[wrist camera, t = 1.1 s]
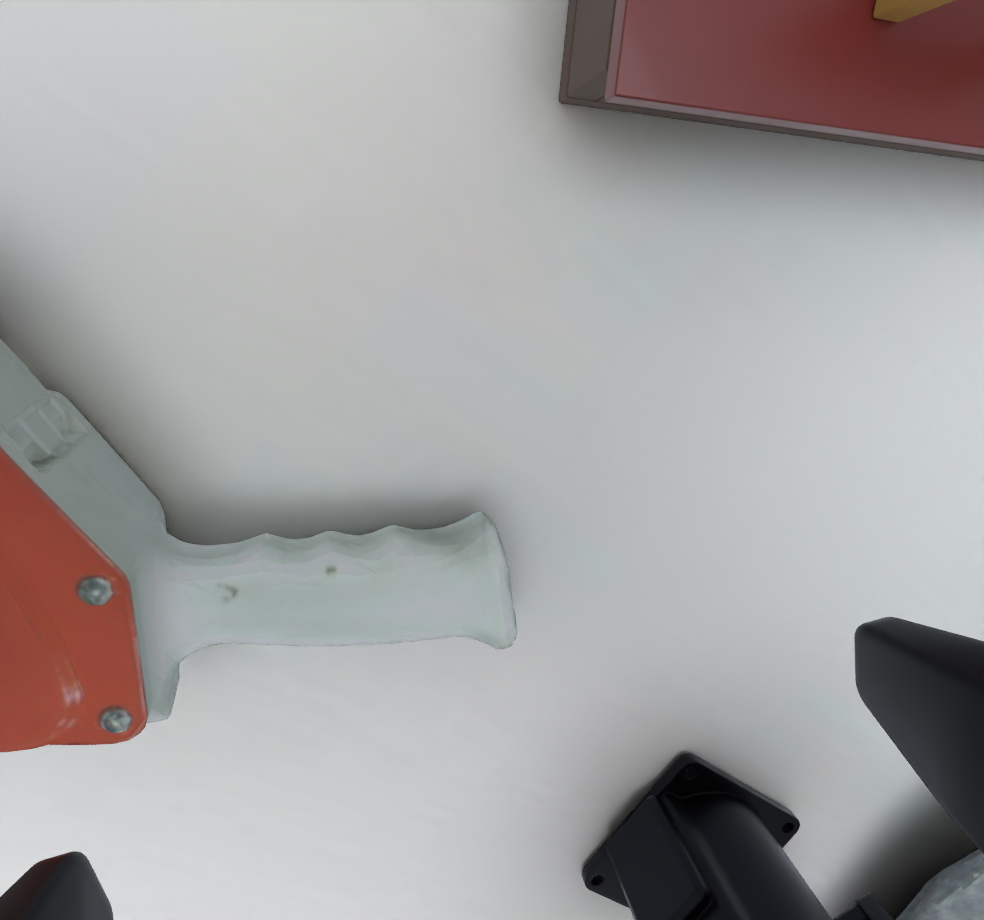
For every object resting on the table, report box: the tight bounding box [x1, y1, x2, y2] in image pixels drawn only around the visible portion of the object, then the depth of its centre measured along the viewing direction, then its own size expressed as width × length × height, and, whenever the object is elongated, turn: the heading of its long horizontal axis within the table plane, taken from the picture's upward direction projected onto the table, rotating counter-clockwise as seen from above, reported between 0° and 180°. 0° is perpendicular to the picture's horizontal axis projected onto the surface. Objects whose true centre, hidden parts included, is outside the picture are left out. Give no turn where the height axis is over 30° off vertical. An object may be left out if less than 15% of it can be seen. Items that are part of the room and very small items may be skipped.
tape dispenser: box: [0, 339, 517, 752], centre depth 18 cm, size 18×5×20 cm
